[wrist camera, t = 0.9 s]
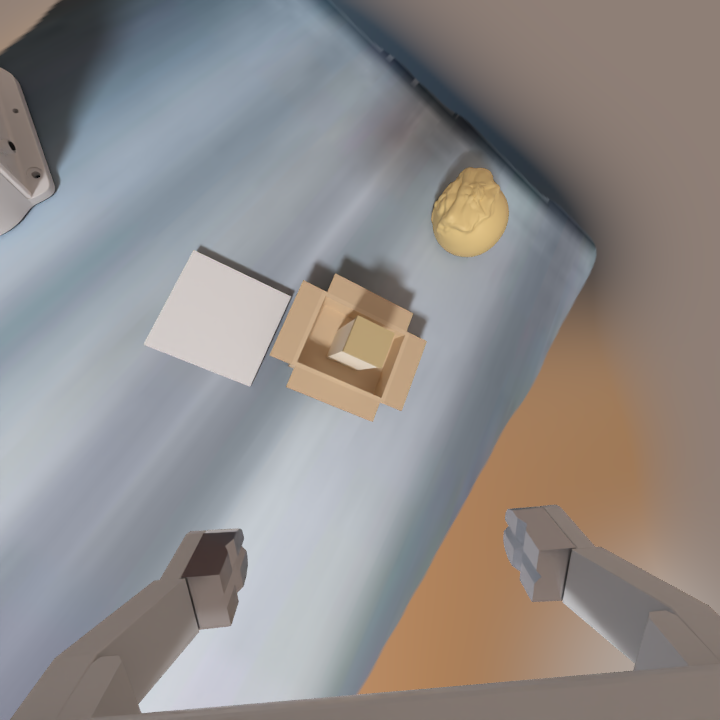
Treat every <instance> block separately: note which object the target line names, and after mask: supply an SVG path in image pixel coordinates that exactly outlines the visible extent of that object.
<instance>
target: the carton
mask: <svg viewBox="0 0 720 720" xmlns="http://www.w3.org/2000/svg"><path fill="white" fill-rule="evenodd" d="M358 315H359V316H361V317H363V318H365V319H367V320H369V321H371V322H373V323H375V324H377V325H379V326H381V327H383V328H385V329H387V330H389V331H391V332H393V333H395V335H394V337H393V340H392V343H391V345H390V348H389V350H388V353H387V356H386V358H385V361H384V363H383V366H382V368H378V367H377V368H370V369H363V370H353V369H351V368H349V367H347V366H344V365H342V364H340V363H338V362H335V361H333V360H331V359H328V358H326V356H327V354H328V351H329V349H330V347H331V344H332V342H333V340H334V337H335V335H336V332H337V330H339V329H340V328H342V327H343V326H345V325H346V324H348V323H349V322H351V321H352V320H354V319H355V318H356V316H358ZM412 316H413V313H411V312H409V311H408V310H406V309H404V308H402V307H400V306H398V305H396V304H394V303H392V302H390V301H388V300H386V299H384V298H382V297H380V296H378V295H376V294H374V293H373V292H371V291H369V290H367V289H365V288H363V287H361V286H359V285H357V284H355V283H353V282H351V281H349V280H347V279H345V278H343V277H341V276H339V275H338V274H336V273H335V275H334V277H333V280H332V282H331V284H330V287H329V289H328V291H327V292H326V291H324V290H322V289H320V288H318V287H316V286H314V285H312V284H310V283H308V282H306V281H304V280H303V282H302V284H301V287H300V289H299V291H298V293H297V296H296V298H295V300H294V302H293V304H292V307H291V309H290V311H289V313H288V315H287V318H286V320H285V322H284V324H283V327H282V329H281V331H280V333H279V335H278V338H277V340H276V342H275V344H274V346H273V349H272V351H271V353H270V356H272V357H275V358H277V359H280V360H282V361H284V362H287V363H289V365H288V366H289V367H292V368H294V370H293V372H292V374H291V377H290V379H289V381H288V383H287V386H286V387H288V388H290V389H293V390H295V391H297V392H300V393H302V394H305V395H307V396H310V397H312V398H315V399H317V400H320V401H322V402H325V403H327V404H330V405H332V406H335V407H337V408H339V409H342V410H344V411H347V412H349V413H352V414H354V415H357V416H359V417H362V418H364V419H367V420H369V421H372V422H373V419H374V417H375V414H376V411H377V409H378V406H379V403H383V404H386V405H388V406H390V407H393V408H395V409H397V410H400V411H402V408H403V406H404V403H405V400H406V397H407V395H408V392H409V389H410V386H411V384H412V381H413V378H414V375H415V373H416V370H417V367H418V364H419V361H420V359H421V356H422V353H423V350H424V348H425V345H426V342H427V341H425V340H423V339H421V338H419V337H417V336H415V335H413V334H411V333H409V332H407V329H408V326H409V324H410V321H411V318H412Z"/></svg>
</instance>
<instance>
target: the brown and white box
mask: <svg viewBox="0 0 720 720" xmlns="http://www.w3.org/2000/svg"><path fill="white" fill-rule="evenodd" d="M394 335H395V333H393V332H391V331H389V330H387V329H385V328H383V327H381V326H379V325H377V324H375V323H373V322H371V321H369V320H367V319H365V318H363V317H361V316H359V315H358V316H356V318H355V319H354V320H352V321H351V322H349V323H348V324H346V325H345V326H343V327H342V328H340V329H339V330H337V332H336V335H335V337H334V340H333V342H332V344H331V347H330V349H329V351H328V354H327V356H326V358H328V359H331V360H333V361H335V362H338V363H340V364H342V365H344V366H347V367H349V368H351V369H353V370H363V369H370V368H377V367H378V368H382V366H383V363H384V361H385V358H386V356H387V353H388V350H389V348H390V345H391V343H392V340H393V337H394Z"/></svg>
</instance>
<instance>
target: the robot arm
mask: <svg viewBox="0 0 720 720" xmlns="http://www.w3.org/2000/svg"><path fill="white" fill-rule="evenodd" d="M37 175H40V177H39V178H35V177H36V176H37ZM54 191H55V185H54V182H53V179H52V176H51V173H50V171H49V168H48V165H47V162H46V159H45V156H44V153H43V150H42V147H41V144H40V141H39V138H38V136H37V133H36V130H35V127H34V124H33V121H32V118H31V115H30V112H29V109H28V106H27V103H26V101H25V98H24V95H23V92H22V89H21V86H20V84H19V82H18V81H17V79H16V78H15V77H14V76H13V75H12V74H11V73H9V72H8V71H6V70H4V69H2V68H1V67H0V235H2V234H4V233H6V232H7V231H9V230H10V229H12V228H13V227H14V226H16V225H17V224H18V223H19V222H20V221H21V220H22V218H23V217H24V216H25V214H26V213H27V212H28V211H29V209H30V208H31V207H33V206H34V205H36V204H38V203H40V202H42V201H43V200H45V199H47V198H49V197H50V196H51V195H52V194H53V193H54ZM505 520H506V522H507V524H508V525H509V526H508V527H507V528H506V530H505V531H504V546H505V551H506V554H507V556H508V559H509V561H510V563H511V564H512V566H513V567H515V568H516V569H517V570H519V571H520V572H521V573H520V581H521V583H522V585H523V586H524V588H525V590H526V592H527V594H528V595H529V597H530V599H531V601H532V602H540V601H560V600H561V601H562V600H563V603H564V604H565V605H566V606H568V607H569V608H570V609H571V610H572V611H574V612H575V613H576V614H577V615H578V616H579V617H581V618H582V619H583V620H584V621H585V622H587V623H588V624H589V625H590V626H591V627H592V628H594V629H595V630H596V631H597V632H598V633H599V634H601V635H602V636H603V637H604V638H605V639H607V640H608V641H609V642H610V643H611V644H612V645H614V646H615V647H616V648H617V649H618V650H620V651H621V652H622V653H623V654H624V655H625V656H627V657H628V658H629V659H630V660H631V661H633V662H634V663H635V667H634V670H633V671H624V672H613V673H602V674H590V675H578V676H566V677H555V678H544V679H532V680H521V681H510V682H498V683H487V684H476V685H466V686H465V685H464V686H453V687H443V688H431V689H419V690H408V691H396V692H384V693H372V694H360V695H349V696H337V697H325V698H314V699H302V700H290V701H279V702H267V703H256V704H244V705H233V706H221V707H210V708H198V709H187V710H175V711H163V712H152V713H141V711H140V708H139V705H138V704H139V703H140V702H141V700H142V699H143V698H144V697H145V696H146V694H147V693H148V692H149V691H150V690H151V688H152V687H153V686H154V685H155V684H156V683H157V681H158V680H159V679H160V678H161V677H162V675H163V674H164V673H165V672H166V671H167V669H168V668H169V667H170V666H171V665H172V663H173V662H174V661H175V660H176V659H177V658H178V656H179V655H180V654H181V653H182V652H183V650H184V649H185V648H186V647H187V646H188V644H189V643H190V642H191V641H192V640H193V638H194V637H195V636H196V635H197V634H198V633H199V630H200V629H209V628H218V627H227V626H231V624H232V621H233V618H234V615H235V612H236V608H237V605H238V602H239V601H238V596H237V592H238V591H239V590H240V589H241V588H242V587H243V586H244V582H245V579H246V574H247V567H248V559H247V552H246V550H245V549H244V548H243V547H242V543H243V540H244V536H243V532H242V530H241V529H219V530H207V531H190V532H189V533H188V534H186V535H185V537H184V539H183V541H182V542H181V544H180V546H179V547H178V549H177V551H176V553H175V554H174V556H173V558H172V560H171V561H170V563H169V565H168V566H167V568H166V570H165V572H164V573H163V575H162V577H161V578H160V580H157V581H153V582H152V583H151V584H149V585H148V586H147V587H146V588H144V589H143V590H142V591H140V592H139V593H138V594H137V595H135V596H134V597H133V598H131V599H130V600H129V601H128V602H126V603H125V604H124V605H122V606H121V607H120V608H119V609H117V610H116V611H115V612H113V613H112V614H111V615H110V616H108V617H107V618H106V619H105V620H103V621H102V622H101V623H99V624H98V625H97V626H96V627H94V628H93V629H92V630H90V631H89V632H88V633H87V634H85V635H84V636H83V637H81V638H80V639H79V640H78V641H76V642H75V643H74V644H72V645H71V646H70V647H69V648H67V649H66V650H65V651H64V652H62V653H61V654H60V655H58V656H57V657H56V658H55V659H54V660H53V661H52V663H51V664H50V666H49V667H48V668H47V670H46V671H45V672H44V674H43V675H42V677H41V678H40V679H39V681H38V682H37V683H36V685H35V686H34V687H33V689H32V690H31V692H30V693H29V694H28V696H27V697H26V698H25V700H24V701H23V703H22V704H21V705H20V707H19V708H18V709H17V711H16V712H15V714H14V715H13V716H12V718H11V719H10V720H720V616H719V615H718V614H717V613H716V612H715V611H714V610H713V609H712V608H711V607H710V606H709V605H707V604H705V603H703V602H701V601H699V600H698V599H696V598H694V597H692V596H690V595H688V594H686V593H685V592H683V591H681V590H679V589H677V588H675V587H674V586H672V585H670V584H668V583H666V582H664V581H663V580H661V579H659V578H657V577H655V576H653V575H651V574H650V573H648V572H646V571H644V570H642V569H641V568H638V567H637V566H635V565H633V564H631V563H630V562H628V561H626V560H624V559H622V558H620V557H619V556H617V555H615V554H613V553H611V552H609V551H607V550H606V549H604V548H602V547H595V546H594V545H593V544H592V542H591V541H590V540H589V539H588V538H587V537H586V536H585V535H584V533H583V532H582V531H581V530H580V529H579V528H578V526H577V525H576V524H575V523H574V522H573V521H572V520H571V518H570V517H569V516H568V515H567V514H566V513H565V512H564V511H563V509H562V508H561V507H559V506H557V505H548V506H540V507H527V508H516V509H515V508H514V509H508V510H507V512H506V516H505Z"/></svg>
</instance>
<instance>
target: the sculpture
mask: <svg viewBox="0 0 720 720" xmlns="http://www.w3.org/2000/svg"><path fill="white" fill-rule="evenodd" d="M508 217H509V209H508V203H507V200H506V198H505V196H504V194H503V193H502V191H501V190H500V187H499V185H497V184H496V183H495V182H494V180H493V175H492V174H491V172H490V171H489V170H487V169H485V168H472V167H469V168H466V169H464V170H463V171H462V172H461V173H460V174H459V176H458V177H457V179H456V180H455V181H454V182H452V183H450V184H449V185H448V187H447V188H446V189H445V190H444V192H443V193H442V195H441V196H440V197H439V199H438V201H436V202H435V204H434V209H433V212H432V217H431V221H432V223H433V231H434V235H435V237H436V239H437V241H438V243H439V244H440V245H441V246H442V247H443V248H444V249H445V250H446V251H447V252H449V253H451V254H453V255H456V256H461V257H473V256H477V255H480V254H482V253H484V252H486V251H488V250H489V249H490V248H491V247H493V246H494V245H495V244H496V243H497V241H498V240H499V239H500V237H501V236H502V234H503V233H504V231H505V228H506V226H507V222H508Z"/></svg>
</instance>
